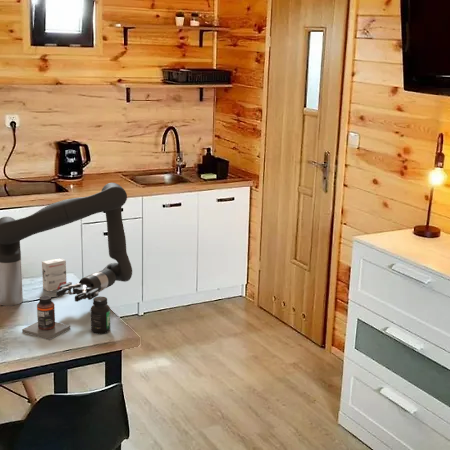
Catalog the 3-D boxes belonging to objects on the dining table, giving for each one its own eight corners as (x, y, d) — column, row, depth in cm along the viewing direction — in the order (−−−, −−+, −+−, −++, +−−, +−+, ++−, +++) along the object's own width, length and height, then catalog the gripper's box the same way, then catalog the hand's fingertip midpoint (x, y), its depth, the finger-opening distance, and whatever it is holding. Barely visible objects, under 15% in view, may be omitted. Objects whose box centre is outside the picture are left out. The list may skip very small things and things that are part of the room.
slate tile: (22, 332, 246) (22, 329, 246) (43, 321, 256) (43, 318, 255) (49, 339, 241) (49, 336, 241) (70, 328, 251) (70, 325, 250)
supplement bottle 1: (48, 322, 252) (47, 292, 249) (58, 327, 249) (57, 297, 246) (34, 327, 248) (33, 297, 245) (44, 332, 244) (43, 301, 241)
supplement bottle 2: (113, 332, 249) (113, 300, 246) (95, 336, 245) (95, 303, 242) (105, 325, 255) (105, 294, 252) (87, 329, 251) (87, 297, 248)
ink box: (61, 284, 294) (60, 257, 291) (67, 287, 291) (66, 260, 288) (42, 288, 289) (41, 260, 286) (47, 291, 285) (46, 264, 282)
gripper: (78, 271, 272) (50, 283, 258) (109, 277, 266) (81, 290, 252) (79, 289, 274) (51, 302, 260) (109, 296, 267) (82, 310, 253)
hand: (66, 296), depth 256 cm, fingers open, 8 cm apart
